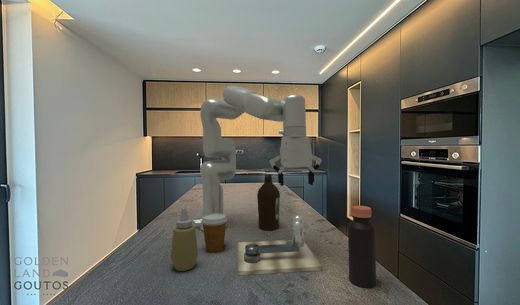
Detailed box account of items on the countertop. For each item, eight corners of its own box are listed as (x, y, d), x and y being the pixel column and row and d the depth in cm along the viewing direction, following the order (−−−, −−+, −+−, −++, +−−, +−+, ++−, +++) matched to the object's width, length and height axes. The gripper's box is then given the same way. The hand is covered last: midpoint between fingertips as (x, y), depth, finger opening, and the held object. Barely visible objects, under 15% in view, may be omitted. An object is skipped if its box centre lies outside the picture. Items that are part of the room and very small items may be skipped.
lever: (245, 256, 73) (245, 218, 73) (245, 250, 78) (244, 214, 78) (305, 253, 75) (305, 216, 75) (301, 247, 79) (301, 212, 79)
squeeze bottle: (183, 276, 68) (182, 213, 68) (165, 269, 72) (164, 210, 72) (203, 264, 75) (202, 207, 75) (186, 259, 79) (185, 205, 79)
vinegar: (382, 285, 62) (381, 209, 62) (360, 290, 60) (359, 211, 60) (363, 273, 69) (363, 204, 69) (343, 277, 67) (342, 205, 67)
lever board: (238, 275, 68) (238, 264, 68) (238, 245, 90) (237, 237, 90) (322, 270, 71) (322, 260, 71) (302, 242, 92) (302, 234, 92)
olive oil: (255, 230, 107) (254, 175, 107) (259, 223, 118) (259, 173, 118) (278, 231, 105) (278, 175, 105) (281, 224, 116) (280, 173, 116)
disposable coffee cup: (218, 241, 94) (217, 211, 94) (233, 248, 87) (232, 216, 87) (196, 248, 87) (196, 216, 87) (210, 256, 81) (210, 221, 81)
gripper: (269, 132, 75) (271, 187, 74) (324, 131, 76) (325, 185, 75) (267, 135, 82) (269, 184, 82) (317, 133, 83) (318, 182, 83)
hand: (296, 185), depth 78 cm, fingers open, 9 cm apart
